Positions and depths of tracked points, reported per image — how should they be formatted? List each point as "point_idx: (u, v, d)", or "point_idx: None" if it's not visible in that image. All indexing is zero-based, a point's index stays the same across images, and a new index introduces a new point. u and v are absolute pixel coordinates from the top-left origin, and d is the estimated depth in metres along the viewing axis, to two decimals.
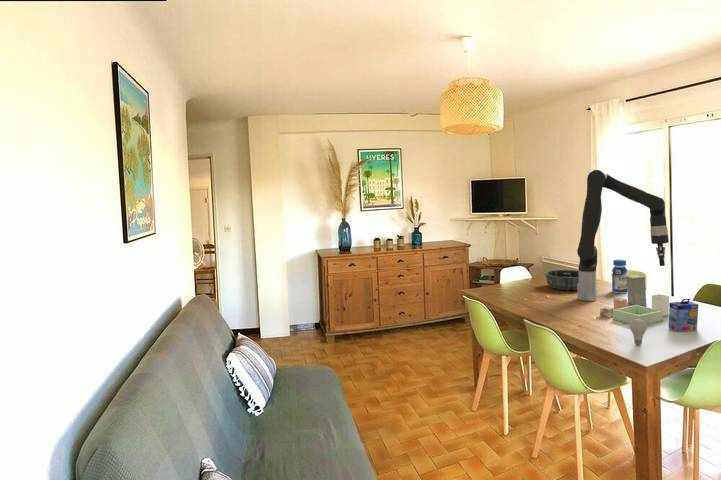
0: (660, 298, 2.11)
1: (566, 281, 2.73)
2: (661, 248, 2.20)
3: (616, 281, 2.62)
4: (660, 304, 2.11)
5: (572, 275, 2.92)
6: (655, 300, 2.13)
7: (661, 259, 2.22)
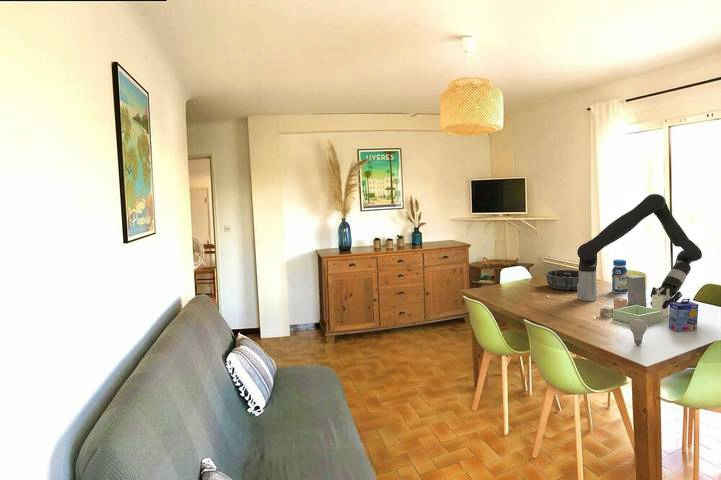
0: (660, 298, 2.11)
1: (566, 281, 2.73)
2: (680, 295, 2.09)
3: (616, 281, 2.62)
4: (660, 304, 2.11)
5: (572, 275, 2.92)
6: (655, 300, 2.13)
7: (668, 302, 2.10)
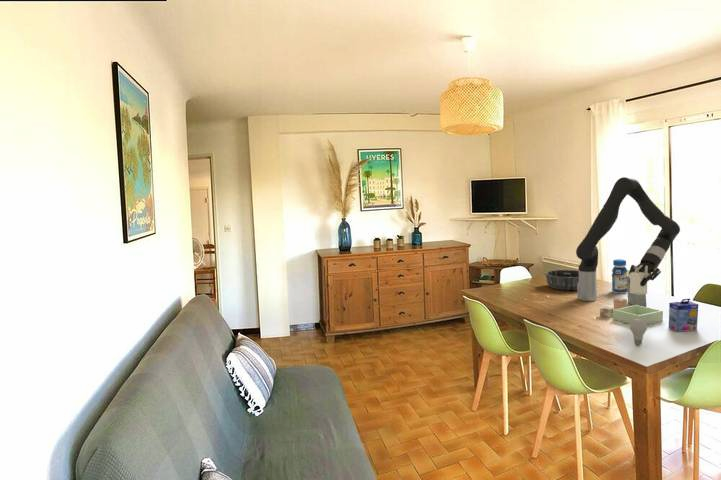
0: (638, 275, 2.04)
1: (566, 281, 2.73)
2: (659, 272, 2.02)
3: (616, 281, 2.62)
4: (638, 282, 2.04)
5: (572, 275, 2.92)
6: (633, 277, 2.07)
7: (647, 279, 2.04)
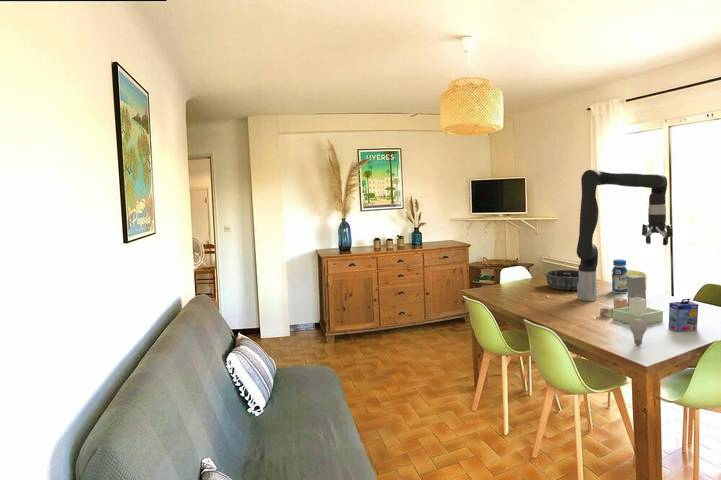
0: (637, 301, 2.05)
1: (566, 281, 2.73)
2: (671, 227, 2.16)
3: (616, 281, 2.62)
4: (637, 308, 2.06)
5: (572, 275, 2.92)
6: (632, 303, 2.08)
7: (667, 238, 2.18)
